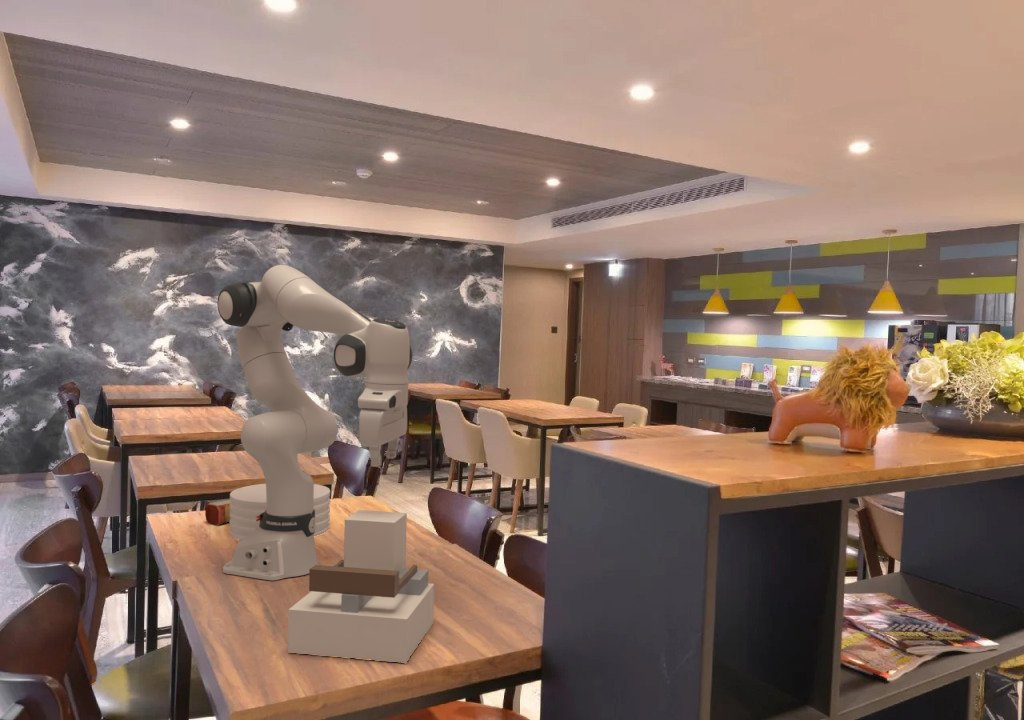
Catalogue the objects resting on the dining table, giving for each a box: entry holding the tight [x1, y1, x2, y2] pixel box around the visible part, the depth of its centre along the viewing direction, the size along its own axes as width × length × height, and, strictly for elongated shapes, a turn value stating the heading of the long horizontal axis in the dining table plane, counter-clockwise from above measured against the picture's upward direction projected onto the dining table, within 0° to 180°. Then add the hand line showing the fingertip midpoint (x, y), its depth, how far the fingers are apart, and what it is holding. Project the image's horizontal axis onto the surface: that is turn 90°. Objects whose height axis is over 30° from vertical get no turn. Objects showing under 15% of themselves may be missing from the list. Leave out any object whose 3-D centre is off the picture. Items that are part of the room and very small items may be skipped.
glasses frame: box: [308, 559, 418, 598], centre depth 139 cm, size 16×15×4 cm
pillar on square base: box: [287, 509, 435, 663], centre depth 139 cm, size 22×19×22 cm
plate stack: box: [228, 483, 331, 541], centre depth 215 cm, size 28×28×12 cm
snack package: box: [204, 499, 231, 526], centre depth 227 cm, size 21×7×7 cm, turn 149°
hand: (383, 462), depth 154 cm, fingers open, 8 cm apart
